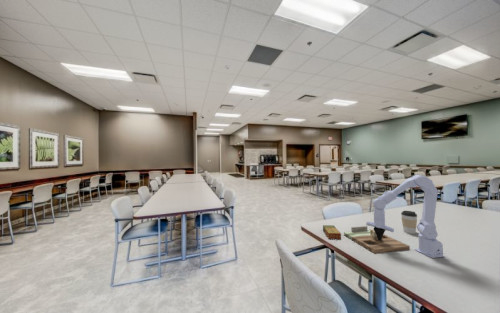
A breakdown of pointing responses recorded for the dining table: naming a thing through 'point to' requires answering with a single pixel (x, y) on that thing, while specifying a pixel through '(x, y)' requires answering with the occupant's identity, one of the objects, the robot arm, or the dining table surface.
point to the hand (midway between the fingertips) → (379, 239)
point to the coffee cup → (409, 221)
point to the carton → (331, 232)
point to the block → (373, 234)
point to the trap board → (374, 241)
